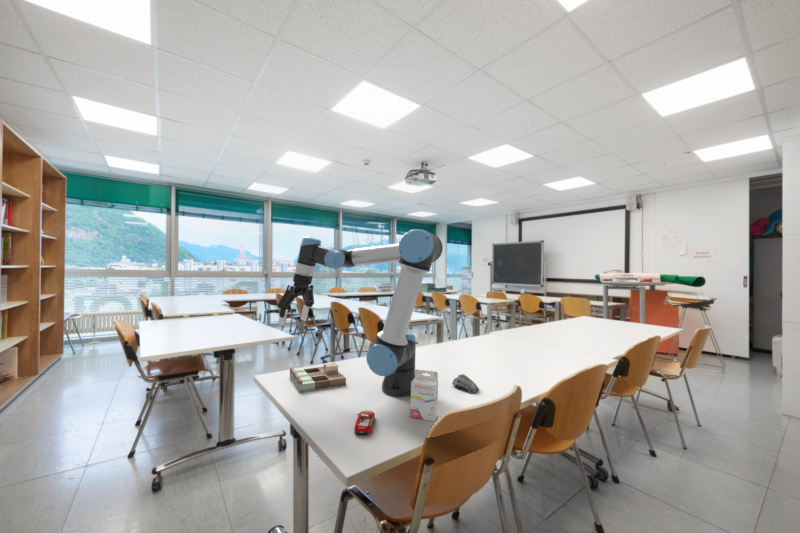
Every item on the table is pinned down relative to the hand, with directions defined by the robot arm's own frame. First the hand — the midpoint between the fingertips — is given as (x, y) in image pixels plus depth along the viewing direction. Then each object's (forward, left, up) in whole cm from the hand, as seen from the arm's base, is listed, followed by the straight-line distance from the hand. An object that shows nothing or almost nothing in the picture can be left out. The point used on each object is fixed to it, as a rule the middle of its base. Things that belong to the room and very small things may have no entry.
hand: (292, 322), depth 138 cm
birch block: (-1, -16, -23) cm, 28 cm away
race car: (-48, -13, -26) cm, 57 cm away
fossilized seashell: (-37, -63, -26) cm, 78 cm away
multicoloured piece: (-1, -10, -26) cm, 28 cm away
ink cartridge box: (-51, -33, -26) cm, 66 cm away
